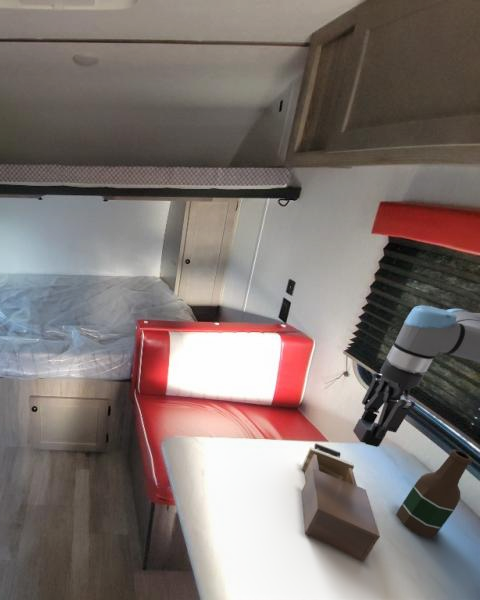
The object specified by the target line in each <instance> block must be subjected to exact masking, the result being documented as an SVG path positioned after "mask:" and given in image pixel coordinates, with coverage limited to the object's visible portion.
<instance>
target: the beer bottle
mask: <svg viewBox="0 0 480 600" xmlns="http://www.w3.org/2000/svg"><path fill="white" fill-rule="evenodd" d="M448 454H449V455H448V457H447V458H446V459H445V461H444V462H442V464H441V466H440V467H439V468H438V469H437V470H436V471H434V472H428V473H425V474H423V475H421V476H420V477H419V478H418V480H417V481H416V482H415V484H414V485H413V487H412V488H411V490H410V491H409V493H408V494H407V496H406V497H405V498H404V501H403V502H402V504H401V505H400V507H399V508H398V510H397V512H396V513H395V514H396V515H395V516H397V518H398V520H399V521H400V522H401V524H402V525H403V526H404V527H405V528H407V529H408V530H410V531H411V532H413V533H414V534H415V535H417V536H419V537H422V538H427V539H431V540H433V539H434V538H435V537H436V536H437V534H438V533H439V532H440V530H441V529H442V528H443V526H444V525H445V523H446V522H447V521H448V520H449V518H450V516H451V515H452V514H453V513H454V511H455V510H456V508H457V506H458V504H459V502H460V500H461V490H460V487H459V484H460V480H461V479H462V477H463V475H464V473H465V471H466V469H467V467H468V466H471V465H472V463H473V458H472V457H471V456H470V455H469V454H467V453H466V452H463V451H461V450H459V449H454V448H453V449H452V450H450V451H449V453H448Z"/></svg>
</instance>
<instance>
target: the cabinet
mask: <svg viewBox="0 0 480 600" xmlns="http://www.w3.org/2000/svg"><path fill="white" fill-rule="evenodd" d="M300 493H301V494H300V495H301V503H302V504H301V505H302V506H301V507H302V515H303V527H304V534H305V535H306V536H308V537H310V538H312V539H314V540H316V541H318V542H321V543H322V544H325V545H326V546H329V547H331V548H333V549H335V550H337V551H339V552H341V553H343V554H345V555H348V556H350V557H352V558H353V559H356V560H357V561H361V562H362V563H364V562H365V561H366V559H367V557H368V556H369V554H370V553H371V552H372V550H373V548H374V547H375V545H376V544H377V542H378V540H379V539H380V537H381V535H380V532H379V528H378V525H377V521H376V518H375V515H374V511H373V509H372V506H371V503H370V499H369V496H368V493H367V489H365V488H362V487H361V486H358V485H357V486H355V485H353V484H350V483H348V482H345V481H343V480H340V479H338V478H336V477H333V476H331V475H328V474H326V473H323V472H321V471H318V470H316V469H313V468H312V470H311V472H310V474H309V476H308V478H307V481H305V483H304V484H303V487H302V489H301V491H300Z"/></svg>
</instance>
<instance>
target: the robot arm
mask: <svg viewBox="0 0 480 600" xmlns="http://www.w3.org/2000/svg"><path fill="white" fill-rule="evenodd" d="M439 352H440V353H443V354H447V355H450V356H454V357H458V358H462V359H465V360H469V361H472V362H476V363H480V312H471V311H469V310H466V309H462V308H449V309H441V308H438V307H436V306H435V307H434V306H430V305H417V306H414V307H413V308H412V309H411V311H410V312H409V314H408V315H407V317H406V318H405V320H404V322H403V325H402V327H401V329H400V331H399V333H398V335H397V337H396V340H395V342H394V343H393V345H392V346H391V348H390V350H389V352H388V353H387V356H386V359H385V361H384V362H383V364H382V366H381V368H380V370H379V373H377V372H374V373H373V375H372V380H371V382H370V383H369V386H368V388H367V390H366V393H365V394H364V396H363V399H362V401H361V404H362V405H364V408H363V409H364V410H363V413H362V415H361V418H360V419H362V420H366V421H371V422H375V421H376V420H377V418H378V414H380V416H379V418H378V421H377V422H375V423H374V425H373V427H372V429H371V431H370V433H369V435H368V436H367V438H366V440H365V443H364V444H365V445H368V446H372V447H376V448H378V447H379V446H380V445H379V443H380V441H381V440H382V439H383V440H384V439H385V437H386V435H387V433H388V432H392V433H397V432H398V430H399V428H400V427H401V425H402V423H403V422H404V420H405V419H406V417H407V415H408V413H409V412H410V410H412V409H413V408H414V407H415V406H416V402H414V401H411V400H410V398H409V396H410V391H411V389H413V388H416V387H419V385H420V383H421V382H422V380H423V378H424V377H425V373H427V372H428V369H429V368H430V366H431V364H432V362H433V360H434V359H435V358H436V356H437V355H438V353H439ZM381 407H382V409H381ZM380 409H381V412H380V411H379V410H380ZM377 423H378V424H377ZM385 434H386V435H385ZM384 436H385V437H384ZM383 440H382V441H383ZM378 445H379V446H378Z"/></svg>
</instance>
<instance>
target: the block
mask: <svg viewBox="0 0 480 600" xmlns="http://www.w3.org/2000/svg"><path fill="white" fill-rule="evenodd" d="M374 423H377V424H378V422H375V421H374V422H371V421H366V420H362V419H361V418H358V420H357V423H356V424H355V426H354V428H353V429H352V432H353V434H355V436H356V438H357V439H358V440H359V442H360V443H364V444H365V440H366V438H367V436H368V435H369V433H370V431H371V429H372V427H373V425H374ZM386 435H387V433H386V434H385V436H384V438H385V437H386ZM384 438H383V439H382V440H381V441H380V443H379V445H378V447H380V445H381V443H382V442H383V440H384Z"/></svg>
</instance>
